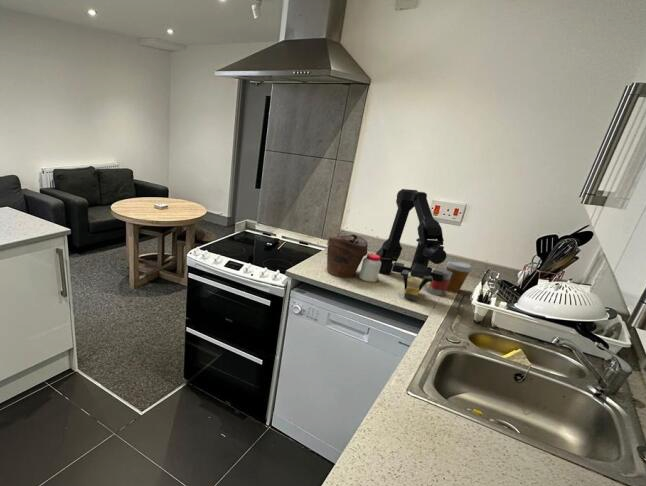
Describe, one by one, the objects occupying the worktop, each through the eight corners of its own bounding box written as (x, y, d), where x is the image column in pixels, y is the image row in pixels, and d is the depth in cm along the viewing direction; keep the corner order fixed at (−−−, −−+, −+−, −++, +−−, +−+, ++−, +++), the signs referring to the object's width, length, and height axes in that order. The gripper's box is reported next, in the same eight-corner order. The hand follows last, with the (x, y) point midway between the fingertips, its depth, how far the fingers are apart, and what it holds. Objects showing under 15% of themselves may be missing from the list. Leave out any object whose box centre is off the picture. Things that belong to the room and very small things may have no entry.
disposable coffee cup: (460, 287, 177) (469, 262, 172) (465, 295, 168) (475, 269, 163) (437, 283, 179) (445, 258, 174) (441, 291, 171) (450, 265, 166)
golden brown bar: (404, 297, 159) (407, 287, 157) (405, 287, 169) (408, 277, 168) (416, 300, 157) (419, 290, 155) (416, 289, 168) (419, 280, 166)
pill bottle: (377, 277, 180) (383, 255, 176) (376, 283, 173) (382, 259, 169) (359, 274, 183) (365, 251, 178) (358, 279, 176) (364, 256, 172)
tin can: (427, 293, 167) (434, 271, 163) (427, 288, 173) (434, 267, 169) (445, 297, 165) (453, 275, 161) (444, 292, 170) (452, 270, 166)
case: (357, 267, 191) (365, 232, 184) (364, 282, 173) (374, 243, 165) (319, 262, 193) (327, 227, 186) (323, 277, 175) (331, 238, 168)
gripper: (396, 255, 154) (385, 291, 160) (449, 266, 146) (436, 303, 152) (397, 248, 163) (388, 283, 169) (448, 258, 155) (436, 294, 161)
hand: (411, 290), depth 163 cm, fingers closed on golden brown bar, 4 cm apart
